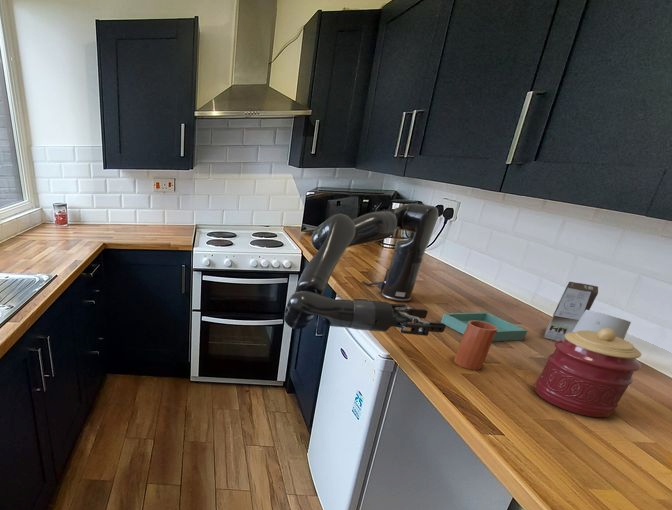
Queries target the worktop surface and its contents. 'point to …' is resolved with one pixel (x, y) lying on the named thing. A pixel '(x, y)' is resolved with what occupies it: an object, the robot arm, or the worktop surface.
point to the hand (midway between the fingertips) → (434, 320)
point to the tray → (504, 328)
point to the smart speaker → (602, 323)
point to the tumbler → (475, 344)
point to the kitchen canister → (588, 372)
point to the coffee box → (570, 309)
